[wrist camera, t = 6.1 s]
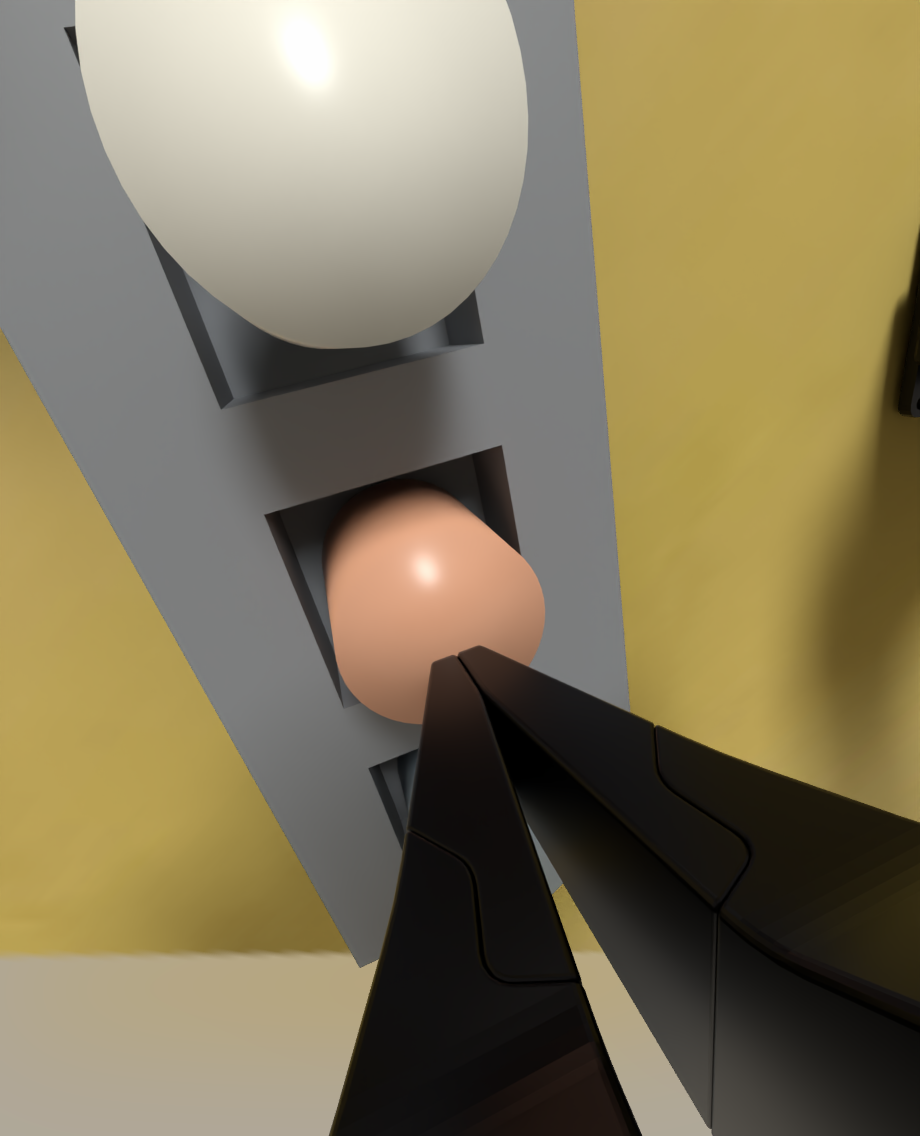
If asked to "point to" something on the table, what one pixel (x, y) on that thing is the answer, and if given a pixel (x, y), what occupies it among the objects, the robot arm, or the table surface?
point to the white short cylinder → (316, 151)
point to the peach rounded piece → (420, 592)
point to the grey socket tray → (312, 440)
